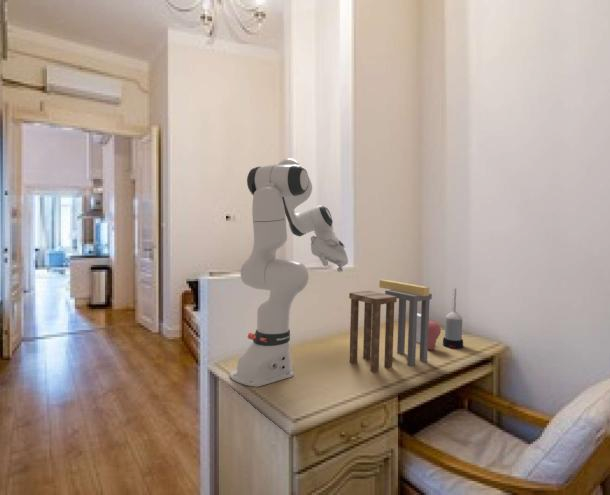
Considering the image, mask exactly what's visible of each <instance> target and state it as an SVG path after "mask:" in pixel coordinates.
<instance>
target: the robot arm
mask: <svg viewBox="0 0 610 495" xmlns="http://www.w3.org/2000/svg"><path fill="white" fill-rule="evenodd" d="M246 177H247V178H246V184H247V188H248V190H249V192H250V194H251V195H252V196H253V197H252V204H251V205H252V208H251V209H252V210H251V211H252V212H251V214H252V226H253V227H252V228H253V247H252V251H251V254H250V256H249V257H248V259H246V260H245V261H244V262H243V264H242V265H241V268H240V278H241V281H242V283H243V284H244V285H246V286H247V287H251V288H253V289H258V290H264V291H269V298H268V299H267V300H266V301H264V302H263V303H261V304H260V305H259V306H258V307H257V312H256V313H257V314H256V316H257V318H256V330H255V332H254V333H252V332H248V334H247V335H246V336H247V339H249V340H252V341H253V342H252V343H250V345H249V346H248V347H247V349H245V350H244V352H243V353H242V354H241V355H239V358H238V360H237V364H236V369H235V370H233V371H230V372H229V378H231V380H233V381H234V382H237V383H238V384H241V385H245V386H249V387H254V388H255V387H256V388H257V387H261V386H265V385H268V384H271V383H275V382H278V381H282V380H287V379H289V378H292V377H294V375H295V374H294V368H293V364H292V356H291V355H292V354H291V347H290V341H291V330H290V314H291V312H290V311H291V307H292V304H293V302H294V299H295V298H296V297H297V296H298V294H299V293H301V292H302V291H303V290H305V288H306V287H307V285H308V281H309V271H308V268H307V267H306V265H305V264H303V263H301V262H298V261H294V260H290V259H277V256H276V255H277V250H278V249H280V248H282V247H283V246H284V245H285V244H286V242H287V239H288V234H287V222H288V226H289V229H290V232H291V233H292V234H293V235H294V236H296V237H302V236H304V235H306V234H309V233H311V232H314V234H315V235H312V236H310V242H311V243H310V250H311V254H312V255H313V256H315V257H318V258H319V260H320V261H321V264H322V266H323V267H327V266H329V263H332V264H334V265H337V266H338V267H337V268H336V270H337V272H338V273H342V272H343V271H344V270H343V267H345V266H346V265H348V263H349V260H348V255H347V252H346V250H345V248H346V247H345V243H343V242H342V241H341V240H339V238H338V237H337V236H336V233H335V232H334V226H333V217H332V214H331V212H330V210H329V209H328V207H326V206H324V205H322V204H319V205H316V206H313V207H310V208H308V209H305V210H303V211H300V212H296V211H295V209H297V207H298V206H300V205H302V204H304V203H305V202H307V201H308V199H309V198H310V197H311V194H312V192H313V184H312V182H311V179H310V176H309V174H308V172H307V170H306V169H305V167H304V166H302V165H301V164H300V163H299V162H298V161H297V160H295V159H293V158H285V159H283V160H281V161H280V162H278V163H277V164H270V165H265V166H257V167H253V168H251V169H250V170H249V172H248V174H247V176H246ZM286 219H287V220H286Z"/></svg>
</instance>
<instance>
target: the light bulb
mask: <svg viewBox="0 0 610 495" xmlns="http://www.w3.org/2000/svg"><path fill="white" fill-rule="evenodd" d="M441 333H442V332H441V326H440V324H438V323H437V322H435V321H434V320H429V328H428V351H429V350H430V351H432V350H435V349H436V343H437V339H438V338H439V336H440V334H441Z"/></svg>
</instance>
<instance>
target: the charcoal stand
mask: <svg viewBox="0 0 610 495" xmlns="http://www.w3.org/2000/svg"><path fill="white" fill-rule="evenodd" d="M384 294H387V295H392V296H396V297H397V299H398V315H397V316H398V319H397V320H398V321H397V347H396V348H397V349H396V352H397V354H399V355H403V354H405V349H406V348H405V347H406V343H405V342H406V323H407V322H406V320H407V318H406V316H407V314H406V313H407V301H408V302H409V306H408V307H409V308H408V313H409V314H408V331H407V332H408V335H407V336H408V337H407V339H408V340H407V361H406V362H407V363H406V364H407V366H410V367H413V366H416V353H417V351H416V350H417V349H416V348H417V342H416V329H417V313H418V302H421V309H420V310H421V311H420V312H421V313H420V314H421V334H420V343H419V362H421V363H423V362H424V363H428V355H429V354H428V353H429V352H428V351H429V349H428V328H429V321H430V300H432V298H433V295H432V293H430V292H429V295H428V296H421V295H416V294H411V293H406V292H401V291H395V290H390V289H386V290H385V291H384Z"/></svg>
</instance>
